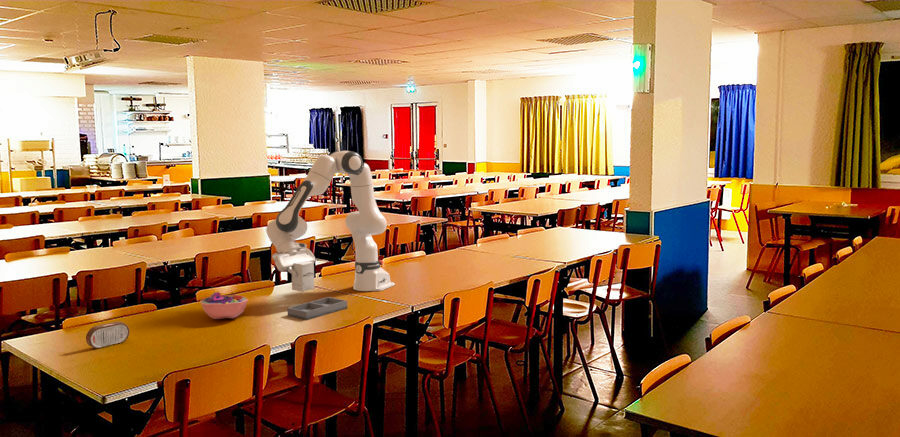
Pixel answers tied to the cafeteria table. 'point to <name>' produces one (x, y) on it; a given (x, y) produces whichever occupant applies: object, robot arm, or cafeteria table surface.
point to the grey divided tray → (317, 308)
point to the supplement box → (303, 276)
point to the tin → (107, 334)
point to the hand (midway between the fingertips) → (303, 274)
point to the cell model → (224, 305)
